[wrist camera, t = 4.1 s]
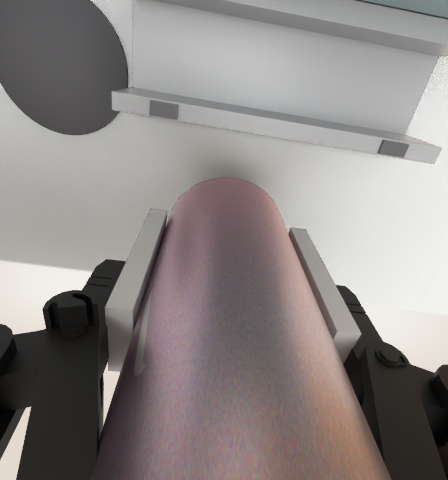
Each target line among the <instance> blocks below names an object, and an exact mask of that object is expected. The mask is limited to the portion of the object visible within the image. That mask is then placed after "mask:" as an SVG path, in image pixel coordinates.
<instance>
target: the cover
mask: <svg viewBox="0 0 448 480" xmlns="http://www.w3.org/2000/svg"><path fill="white" fill-rule="evenodd" d="M355 1H360V2H365V3H370V4H374V5H379V6H384V7H389V8H394V9H399V10H404V11H409V12H413V13H418V14H423V15H428V16H433V17H438V18H443V19H447V20H448V0H355Z"/></svg>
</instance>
